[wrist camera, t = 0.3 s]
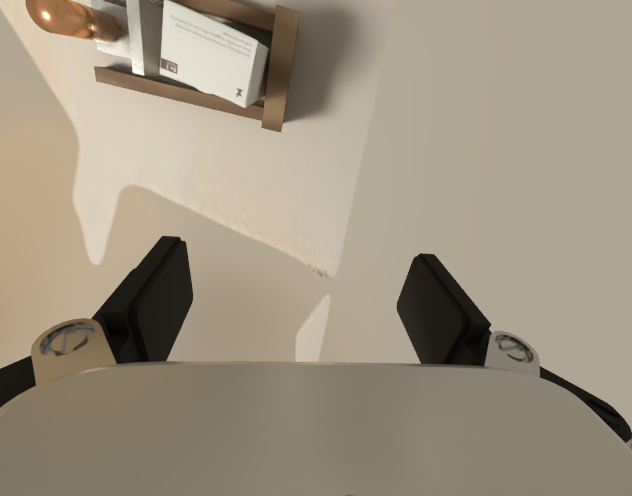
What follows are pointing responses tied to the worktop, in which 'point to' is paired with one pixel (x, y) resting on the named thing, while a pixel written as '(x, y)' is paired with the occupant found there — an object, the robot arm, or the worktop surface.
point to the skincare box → (212, 56)
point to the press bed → (270, 114)
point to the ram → (108, 27)
